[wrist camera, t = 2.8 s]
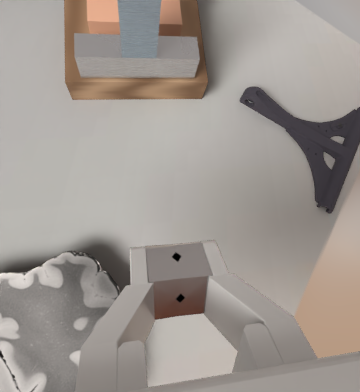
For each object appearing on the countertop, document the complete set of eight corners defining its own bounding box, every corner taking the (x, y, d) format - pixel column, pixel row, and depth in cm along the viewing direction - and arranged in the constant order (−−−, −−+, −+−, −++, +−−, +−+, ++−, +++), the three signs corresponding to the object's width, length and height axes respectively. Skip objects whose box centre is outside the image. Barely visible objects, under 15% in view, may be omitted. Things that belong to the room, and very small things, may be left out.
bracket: (263, 58, 35) (274, 41, 32) (364, 117, 35) (383, 105, 32) (211, 148, 31) (218, 137, 28) (325, 214, 31) (342, 210, 28)
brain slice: (-40, 558, 20) (-70, 608, 17) (-142, 354, 22) (-184, 369, 19) (178, 375, 25) (183, 390, 22) (80, 220, 27) (73, 215, 24)
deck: (72, 99, 29) (65, 81, 26) (71, 12, 31) (64, -13, 28) (201, 98, 31) (208, 82, 28) (191, 17, 34) (196, -6, 31)
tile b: (141, 39, 28) (141, 23, 26) (138, 6, 29) (138, -11, 27) (179, 40, 29) (182, 24, 27) (175, 8, 30) (178, -9, 28)
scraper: (81, 77, 26) (29, -84, 14) (80, 55, 27) (30, -119, 14) (193, 78, 28) (237, -64, 16) (191, 57, 28) (231, -96, 16)
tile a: (90, 37, 28) (87, 21, 26) (89, 4, 28) (86, -14, 26) (131, 38, 28) (130, 22, 26) (129, 6, 29) (128, -12, 27)
